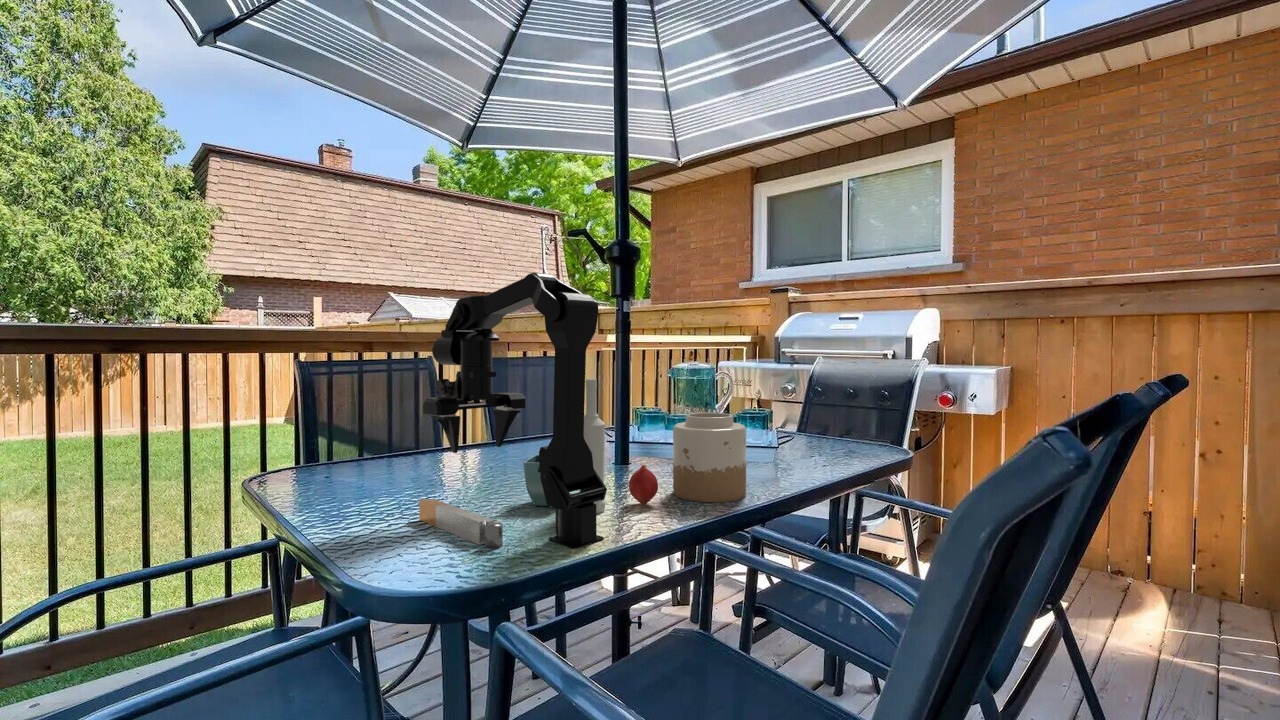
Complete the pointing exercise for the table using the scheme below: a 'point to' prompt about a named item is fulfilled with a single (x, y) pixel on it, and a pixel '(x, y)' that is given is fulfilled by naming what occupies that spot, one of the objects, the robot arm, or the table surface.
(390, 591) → the table surface
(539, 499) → the flower pot
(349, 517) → the table surface
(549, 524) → the table surface
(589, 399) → the bottle
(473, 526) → the tong arm
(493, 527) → the base
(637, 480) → the onion
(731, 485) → the vase
